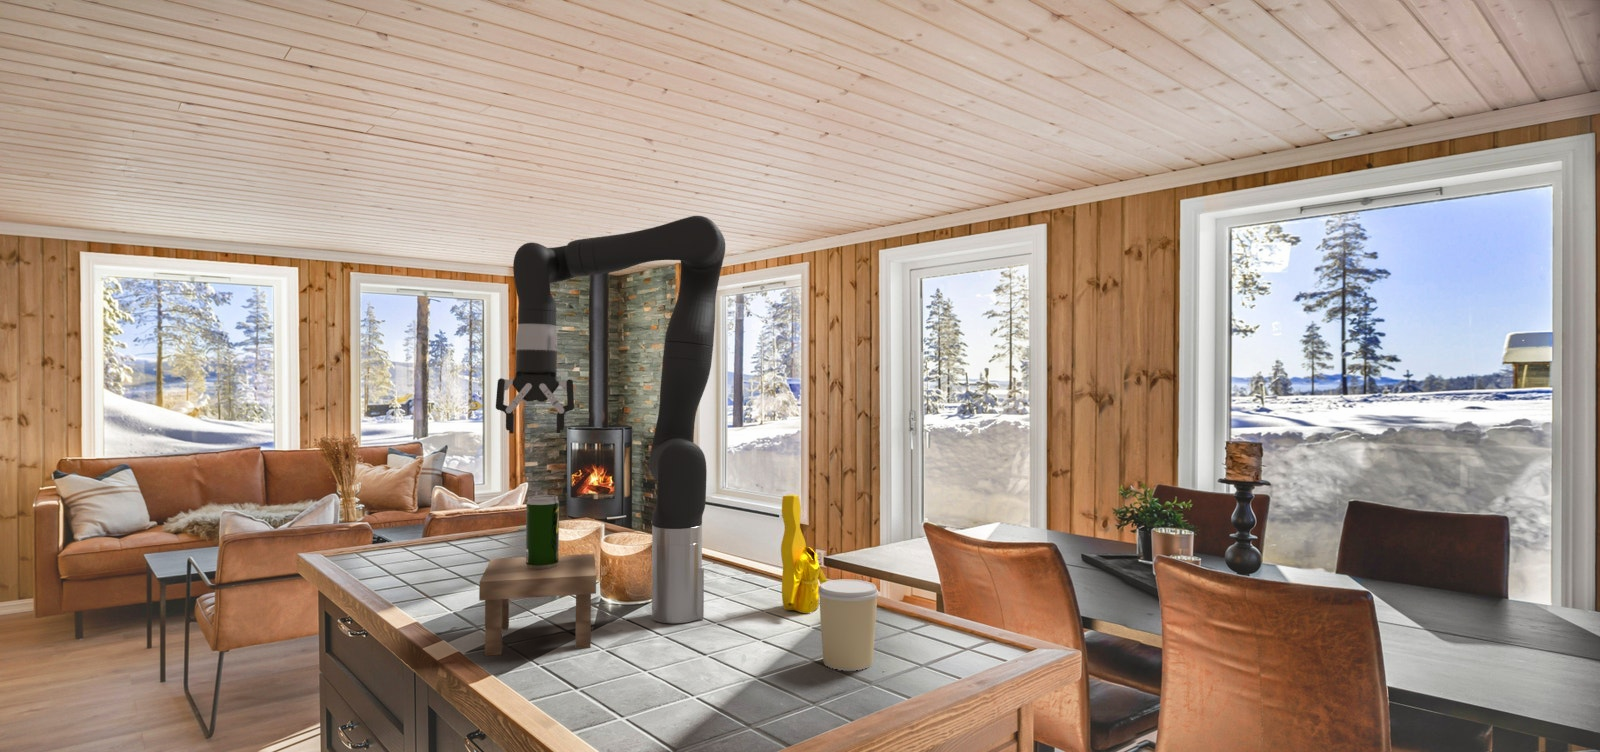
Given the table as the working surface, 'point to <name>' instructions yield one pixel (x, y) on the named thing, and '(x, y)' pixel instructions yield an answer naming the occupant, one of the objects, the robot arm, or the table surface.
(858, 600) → the coffee cup
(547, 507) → the beer can
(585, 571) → the walnut stool
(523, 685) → the table surface
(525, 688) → the table surface
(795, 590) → the yellow raincoat figure
